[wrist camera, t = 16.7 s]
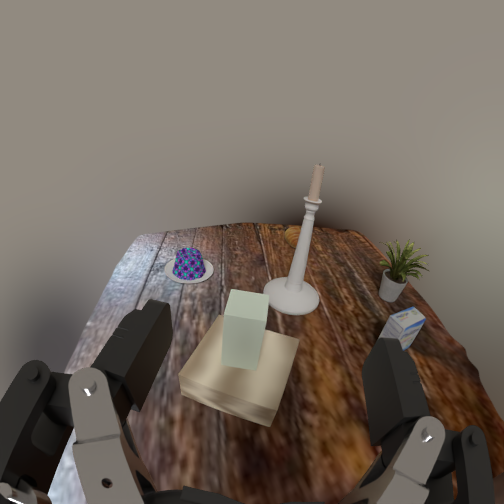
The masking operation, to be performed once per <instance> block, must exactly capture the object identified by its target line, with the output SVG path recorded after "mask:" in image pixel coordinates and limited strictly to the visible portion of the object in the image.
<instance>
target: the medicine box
mask: <svg viewBox="0 0 504 504" xmlns="http://www.w3.org/2000/svg"><path fill="white" fill-rule="evenodd" d="M425 320H426V318H425V317H424V316H423V315H422V314H421V313H420V312H419V311H418V310H417V309H416V308H414V307H411V308H408V309H406V310H403V311H401V312H398V313H396V314H393V315H390V317H389V319H388V321H387V323H386V325H385V326H384V328H383V330H382V332H381V334H380V336H379V338H380V337H384V338H397V339H399V341H400V343H401V346H402V349H403V351H404V350H405V349H407V348H409V346H410V345H411V343H412V342H413V340H414V338H415V337H416V335H417V333H418V332H419V330H420V328H421V327H422V325H423V323H424V322H425ZM379 338H378V339H379Z"/></svg>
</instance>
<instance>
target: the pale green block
mask: <svg viewBox="0 0 504 504" xmlns="http://www.w3.org/2000/svg"><path fill="white" fill-rule="evenodd" d="M268 303H269V295H266V294H259V293H253V292H246V291H240V290H234V289H231V292H230V295H229V299H228V302H227V305H226V309H225V312H224V321H223V338H222V356H221V365H225V366H231V367H236V368H242V369H249V370H255V371H256V369H257V365H258V360H259V355H260V350H261V346H262V341H263V336H264V331H265V326H266V321H267V312H268Z"/></svg>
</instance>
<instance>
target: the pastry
mask: <svg viewBox="0 0 504 504" xmlns="http://www.w3.org/2000/svg"><path fill="white" fill-rule="evenodd" d="M300 232H301V229H300V228H298V227H292V228H289V229H287V230H286V232H285V235H284V237H285V240H286V241H287V243H288V244H289V245H290V246H292V247H293V248H296V247H297V243H298V239H299V235H300Z"/></svg>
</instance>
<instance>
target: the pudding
mask: <svg viewBox="0 0 504 504" xmlns="http://www.w3.org/2000/svg"><path fill="white" fill-rule="evenodd" d="M172 269H173V273H172ZM205 269H206V270H205ZM213 270H214V269H213V266H212V264H211V263H210V262H208V261H207V260H205V259H203V258H202V255H201V253H200V251H199V250H197V249H194V248H183V249H182V250H179V251H178V252H177V255H176V258H175V259H173V260H171V261H170V262H168V263H167V265H166V266H165V273H166V275H167V276H168V277H169V278H170V279H172V280H174V281H176V282H180V283H198V282H202V281H204V280H206V279H208V278H209V277H210V276H211V275H212V274H213ZM205 272H206V273H205ZM203 273H205V275H204V276H203ZM173 274H174V275H177V277H178V278H177V277H175V276H174V275H173ZM202 276H203V277H202ZM195 278H199V279H196V280H194V279H195ZM182 279H187V280H182Z"/></svg>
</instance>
